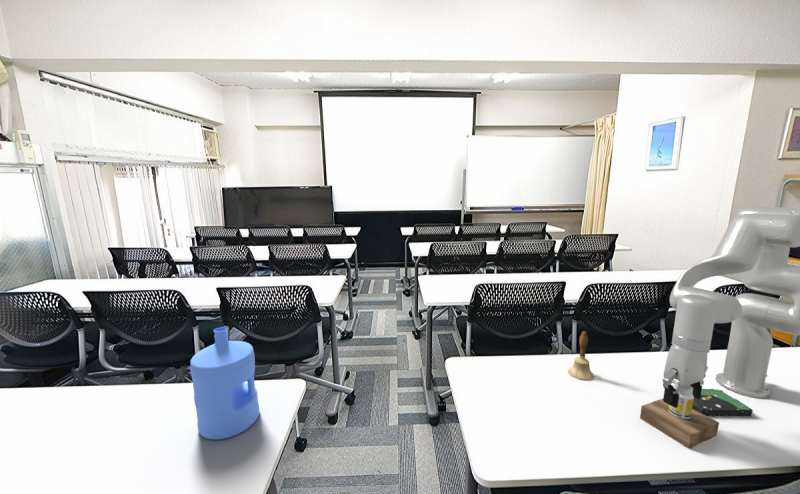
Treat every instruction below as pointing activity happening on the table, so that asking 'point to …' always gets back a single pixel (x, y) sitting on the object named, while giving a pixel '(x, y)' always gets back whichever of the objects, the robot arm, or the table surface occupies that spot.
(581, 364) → the hand bell
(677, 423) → the walnut base block
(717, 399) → the disk drive
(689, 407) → the supplement bottle
